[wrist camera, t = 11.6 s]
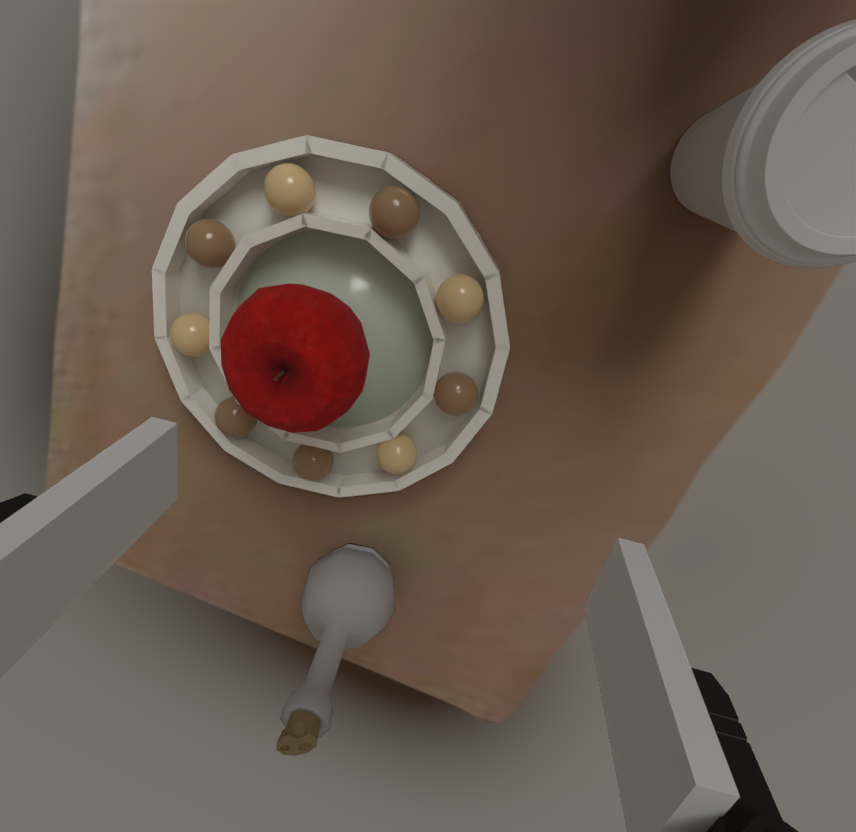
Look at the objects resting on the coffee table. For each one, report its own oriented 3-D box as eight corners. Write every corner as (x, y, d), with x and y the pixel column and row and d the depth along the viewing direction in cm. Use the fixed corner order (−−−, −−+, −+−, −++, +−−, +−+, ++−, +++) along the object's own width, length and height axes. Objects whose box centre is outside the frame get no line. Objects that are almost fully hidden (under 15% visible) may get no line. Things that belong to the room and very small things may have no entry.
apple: (272, 255, 39) (195, 279, 29) (396, 286, 38) (362, 320, 29) (262, 376, 43) (191, 433, 33) (374, 404, 43) (337, 470, 33)
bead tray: (171, 106, 36) (131, 97, 32) (549, 187, 36) (556, 187, 32) (178, 440, 48) (149, 463, 44) (463, 506, 47) (460, 536, 43)
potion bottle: (317, 528, 50) (231, 694, 34) (407, 546, 50) (364, 723, 33) (312, 595, 54) (232, 775, 37) (395, 613, 53) (352, 802, 37)
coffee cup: (822, 191, 34) (1042, 197, 20) (676, 266, 37) (782, 315, 23) (777, 41, 31) (998, -70, 17) (622, 135, 34) (708, 103, 20)
